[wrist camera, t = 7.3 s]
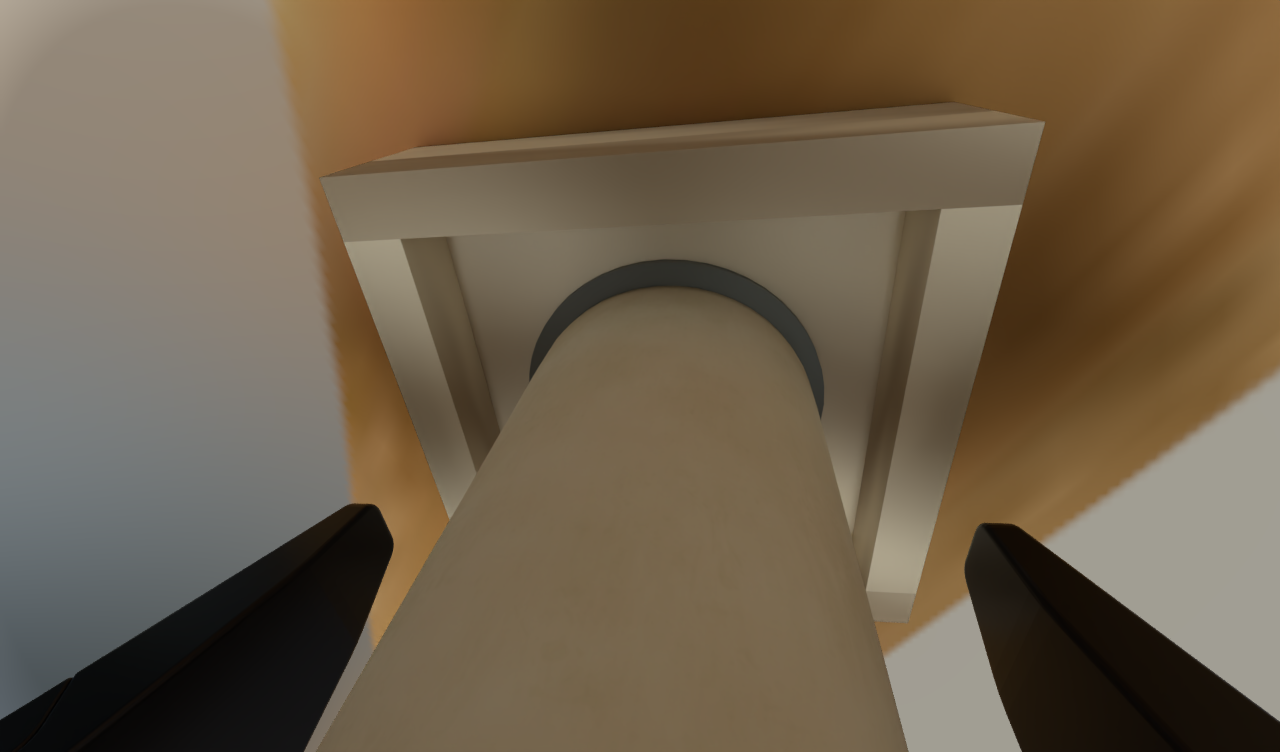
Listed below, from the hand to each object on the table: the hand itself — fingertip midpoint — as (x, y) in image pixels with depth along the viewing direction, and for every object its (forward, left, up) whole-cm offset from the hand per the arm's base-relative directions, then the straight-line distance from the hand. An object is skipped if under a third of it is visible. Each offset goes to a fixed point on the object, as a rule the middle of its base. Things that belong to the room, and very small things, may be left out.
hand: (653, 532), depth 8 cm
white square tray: (0, 0, -5) cm, 5 cm away
